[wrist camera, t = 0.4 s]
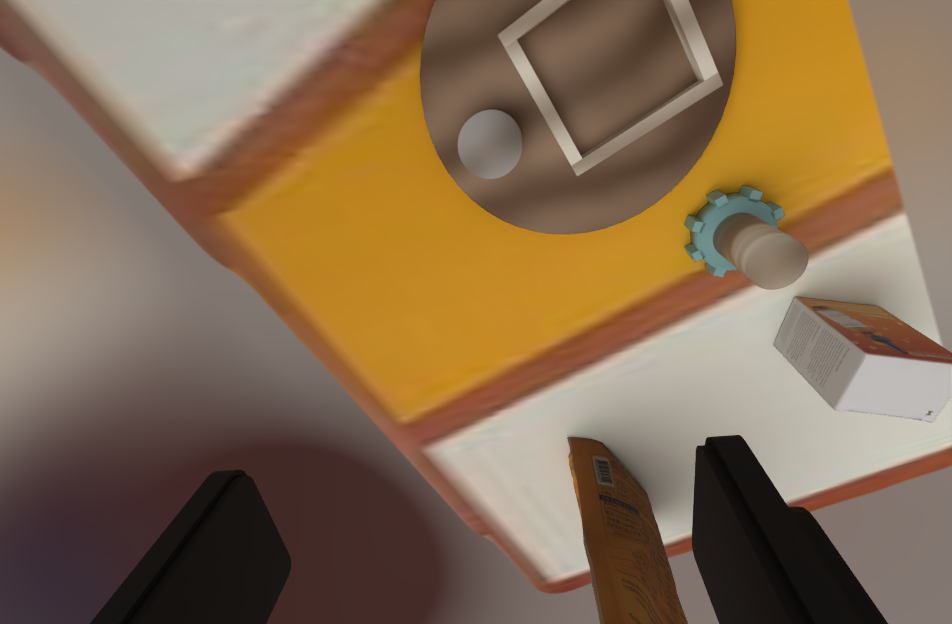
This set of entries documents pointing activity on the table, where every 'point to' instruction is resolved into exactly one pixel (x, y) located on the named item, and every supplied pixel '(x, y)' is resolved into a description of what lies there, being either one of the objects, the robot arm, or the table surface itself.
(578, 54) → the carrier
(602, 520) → the pancake mix bag
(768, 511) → the robot arm
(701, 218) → the gear
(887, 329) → the small box
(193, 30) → the table surface
